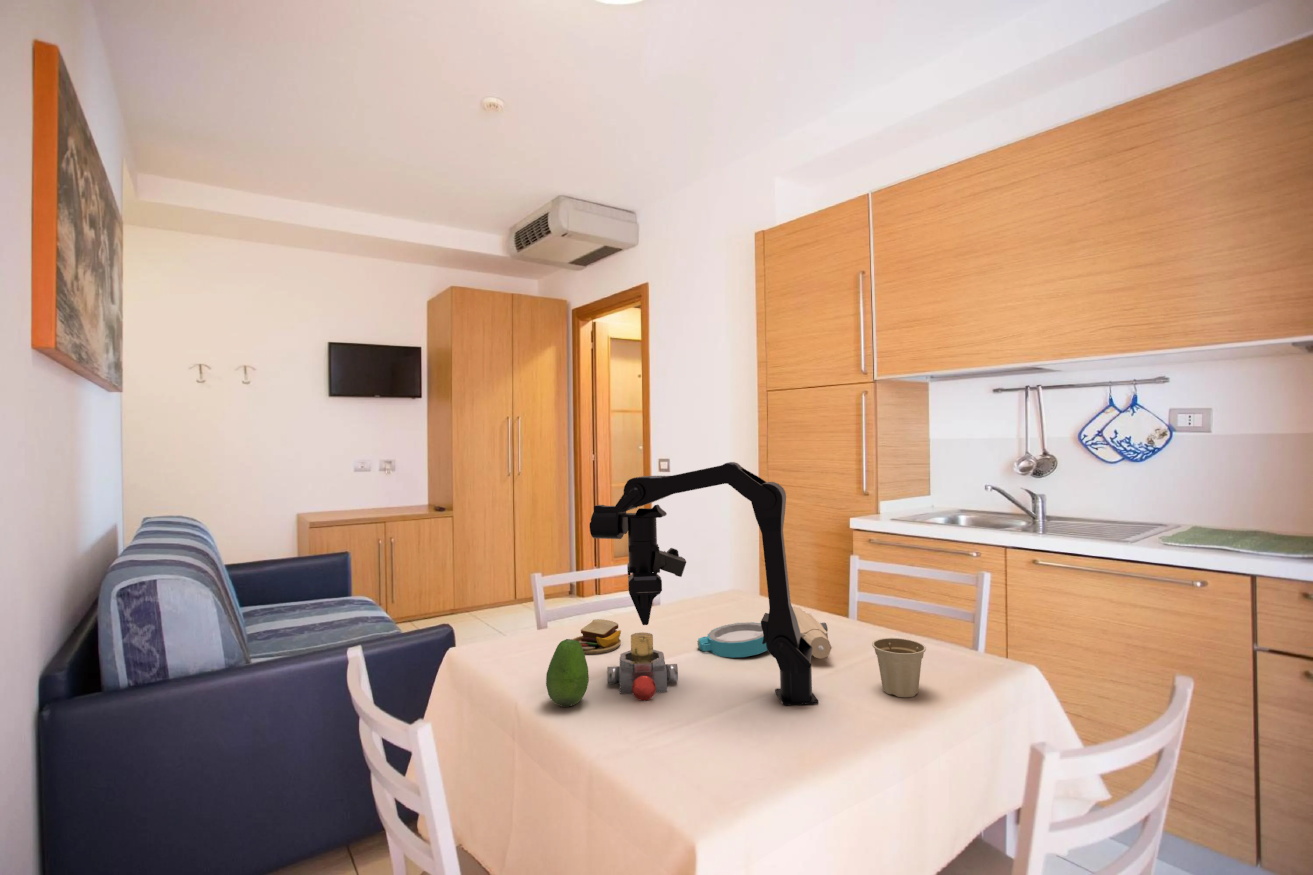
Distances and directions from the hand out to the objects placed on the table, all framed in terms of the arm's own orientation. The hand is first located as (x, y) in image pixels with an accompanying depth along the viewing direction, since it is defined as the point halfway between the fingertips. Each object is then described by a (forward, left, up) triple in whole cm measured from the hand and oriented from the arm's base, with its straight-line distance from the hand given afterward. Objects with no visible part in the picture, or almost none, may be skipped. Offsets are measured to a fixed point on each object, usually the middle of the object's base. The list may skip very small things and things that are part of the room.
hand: (644, 618), depth 123 cm
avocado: (-8, +15, -13) cm, 21 cm away
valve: (-2, +1, -13) cm, 13 cm away
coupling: (0, +1, -9) cm, 9 cm away
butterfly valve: (+18, -28, -13) cm, 36 cm away
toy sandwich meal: (+25, +11, -13) cm, 30 cm away
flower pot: (-9, -47, -13) cm, 50 cm away
